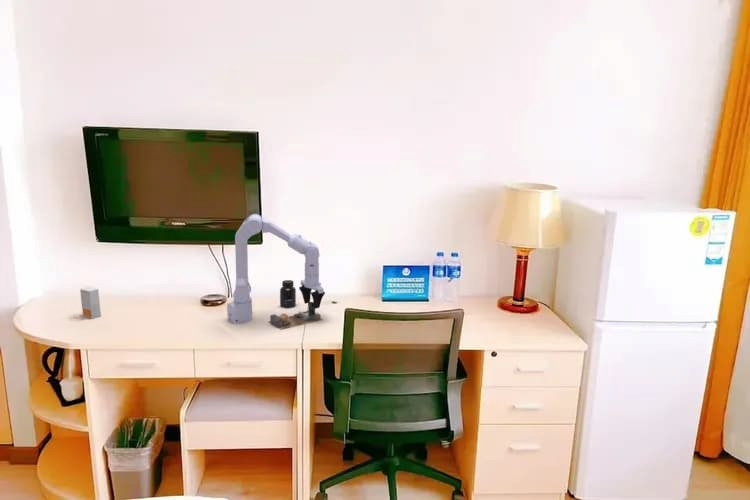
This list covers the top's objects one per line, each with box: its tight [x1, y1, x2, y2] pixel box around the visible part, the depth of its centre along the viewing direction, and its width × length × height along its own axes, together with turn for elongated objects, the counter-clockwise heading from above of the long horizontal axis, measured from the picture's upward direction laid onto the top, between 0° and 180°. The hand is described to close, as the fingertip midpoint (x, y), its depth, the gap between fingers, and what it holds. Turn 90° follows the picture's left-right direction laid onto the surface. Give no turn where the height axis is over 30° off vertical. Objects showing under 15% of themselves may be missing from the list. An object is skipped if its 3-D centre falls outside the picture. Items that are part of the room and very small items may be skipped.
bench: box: [267, 310, 324, 331], centre depth 227 cm, size 20×11×4 cm, turn 128°
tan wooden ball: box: [278, 313, 290, 324], centre depth 224 cm, size 4×4×4 cm
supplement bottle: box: [279, 279, 297, 309], centre depth 244 cm, size 7×7×12 cm
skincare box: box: [79, 286, 102, 320], centre depth 229 cm, size 6×4×12 cm
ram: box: [297, 301, 319, 318], centre depth 230 cm, size 7×4×6 cm, turn 128°
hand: (311, 305), depth 231 cm, fingers open, 7 cm apart
